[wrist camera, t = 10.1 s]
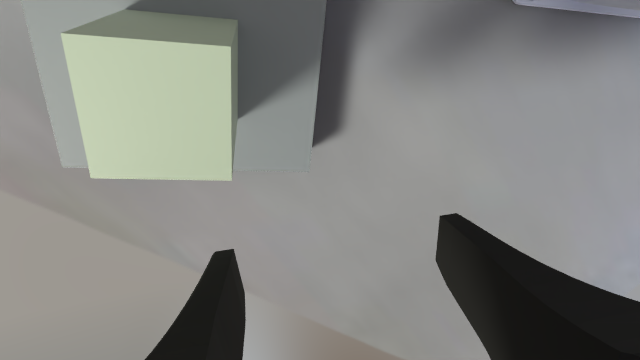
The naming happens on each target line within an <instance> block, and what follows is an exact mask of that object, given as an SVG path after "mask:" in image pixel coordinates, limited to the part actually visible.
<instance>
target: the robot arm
mask: <svg viewBox="0 0 640 360" xmlns="http://www.w3.org/2000/svg"><path fill="white" fill-rule="evenodd" d="M512 1H513V2H514V3H515V4H518V5H526V6H535V7H544V8H553V9H562V10H571V11H580V12H589V13H598V14H607V15H616V16H625V17H634V18H640V0H512ZM436 262H437V264H438V267H439V269H440V271H441V274H442V276H443V278H444V280H445V282H446V284H447V286H448V288H449V290H450V291H451V293H452V295H453V296H454V298H455V300H456V301H457V303H458V304H459V306H460V308H461V309H462V311H463V312H464V314H465V316H466V317H467V319H468V320H469V322H470V324H471V325H472V327H473V329H474V330H475V332H476V333H477V335H478V337H479V338H480V340H481V342H482V343H483V345H484V347H485V349H486V350H487V352H488V354H489V356H490V358H491V360H640V302H638V301H635V300H632V299H629V298H626V297H623V296H620V295H617V294H614V293H611V292H608V291H606V290H603V289H600V288H598V287H595V286H593V285H590V284H587V283H585V282H582V281H580V280H578V279H575V278H573V277H571V276H568V275H566V274H564V273H562V272H560V271H557V270H555V269H553V268H551V267H549V266H547V265H545V264H543V263H541V262H539V261H537V260H535V259H533V258H531V257H529V256H527V255H526V254H524V253H522V252H520V251H518V250H517V249H515V248H513V247H511V246H510V245H508V244H506V243H504V242H503V241H501V240H499V239H498V238H496V237H495V236H493V235H491V234H490V233H488V232H486V231H485V230H483V229H482V228H480V227H478V226H477V225H475V224H474V223H472V222H470V221H469V220H467V219H466V218H464V217H462V216H461V215H459V214H457V213H455V214H449V215H442V216H440V220H439V230H438V241H437V251H436ZM244 334H245V292H244V288H243V284H242V280H241V276H240V272H239V268H238V264H237V261H236V257H235V253H234V249H230V250H223V251H217V252H215V253H214V254H213V255H212V257H211V259H210V261H209V263H208V265H207V267H206V269H205V271H204V273H203V275H202V277H201V279H200V281H199V283H198V284H197V286H196V288H195V289H194V291H193V293H192V294H191V296H190V298H189V300H188V301H187V303H186V304H185V306H184V307H183V309H182V310H181V312H180V314H179V315H178V317H177V318H176V320H175V321H174V323H173V324H172V325H171V327H170V328H169V330H168V331H167V333H166V334H165V335H164V336H163V338H162V339H161V341H160V342H159V343H158V344H157V346H156V347H155V348H154V349H153V351H152V352H151V353H150V354H149V355H148V357H147V358H146V359H145V360H242V357H243V346H244Z"/></svg>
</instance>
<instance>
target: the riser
mask: <svg viewBox="0 0 640 360" xmlns="http://www.w3.org/2000/svg"><path fill="white" fill-rule="evenodd" d="M326 3H327V0H21V4H22V8H23V12H24V16H25V20H26V24H27V28H28V32H29V36H30V40H31V44H32V48H33V52H34V56H35V60H36V64H37V68H38V73H39V77H40V81H41V85H42V89H43V93H44V97H45V101H46V105H47V109H48V113H49V117H50V121H51V125H52V129H53V133H54V137H55V141H56V145H57V149H58V153H59V157H60V161H61V165H62V167H73V168H89V167H88V162H87V157H86V153H85V148H84V143H83V138H82V134H81V129H80V124H79V119H78V114H77V110H76V105H75V100H74V95H73V90H72V86H71V81H70V76H69V71H68V66H67V62H66V57H65V52H64V47H63V43H62V38H61V33H62V32H65V31H68V30H70V29H73V28H76V27H78V26H81V25H84V24H86V23H89V22H92V21H95V20H97V19H100V18H103V17H105V16H108V15H111V14H113V13H116V12H119V11H121V10H124V9H126V10H137V11H148V12H158V13H169V14H180V15H191V16H202V17H213V18H223V19H234V20H238V121H237V131H236V142H235V152H234V162H233V171H276V172H309V171H310V161H311V151H312V142H313V132H314V122H315V112H316V102H317V92H318V82H319V72H320V62H321V53H322V43H323V33H324V23H325V13H326Z"/></svg>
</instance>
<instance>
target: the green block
mask: <svg viewBox="0 0 640 360" xmlns="http://www.w3.org/2000/svg"><path fill="white" fill-rule="evenodd" d="M61 38H62V43H63V47H64V52H65V57H66V62H67V66H68V71H69V76H70V81H71V86H72V90H73V95H74V100H75V105H76V110H77V114H78V119H79V124H80V129H81V134H82V138H83V143H84V148H85V153H86V157H87V162H88V167H89V172H90V177H91V178H107V179H166V180H224V181H232V173H233V162H234V152H235V142H236V131H237V121H238V20H234V19H223V18H213V17H202V16H191V15H180V14H169V13H158V12H148V11H137V10H126V9H124V10H121V11H119V12H116V13H113V14H111V15H108V16H105V17H103V18H100V19H97V20H95V21H92V22H89V23H86V24H84V25H81V26H78V27H76V28H73V29H70V30H68V31H65V32H62V33H61Z"/></svg>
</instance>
